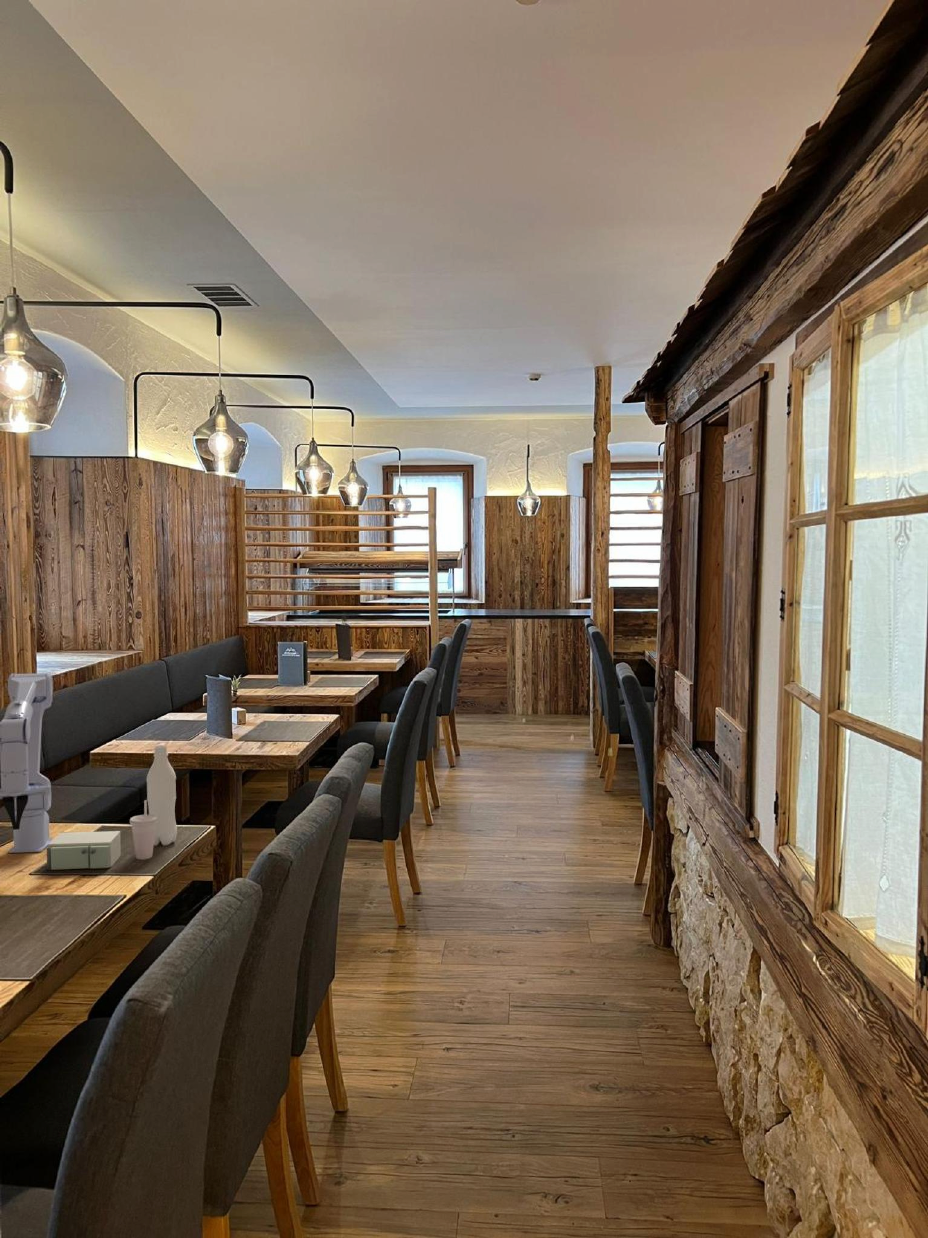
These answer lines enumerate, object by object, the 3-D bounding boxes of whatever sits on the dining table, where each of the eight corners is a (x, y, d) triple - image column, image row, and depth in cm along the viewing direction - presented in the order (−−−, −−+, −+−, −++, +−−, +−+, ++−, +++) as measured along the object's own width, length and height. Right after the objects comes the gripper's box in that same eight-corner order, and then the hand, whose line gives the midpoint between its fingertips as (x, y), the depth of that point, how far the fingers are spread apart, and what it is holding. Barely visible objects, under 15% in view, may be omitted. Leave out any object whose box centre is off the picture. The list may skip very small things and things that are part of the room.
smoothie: (149, 862, 216) (148, 804, 215) (124, 860, 217) (123, 803, 217) (163, 853, 222) (162, 797, 222) (139, 852, 224) (138, 796, 223)
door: (48, 868, 210) (47, 847, 210) (89, 866, 212) (89, 845, 211) (45, 871, 208) (44, 850, 208) (87, 869, 210) (86, 848, 209)
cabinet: (61, 857, 220) (60, 832, 219) (120, 855, 221) (120, 831, 221) (45, 873, 208) (44, 847, 208) (108, 870, 210) (107, 845, 210)
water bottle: (183, 841, 232) (181, 745, 231) (160, 849, 226) (158, 750, 225) (164, 837, 236) (162, 742, 235) (141, 844, 230) (139, 747, 229)
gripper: (-22, 777, 202) (-20, 837, 202) (49, 771, 208) (51, 829, 209) (-21, 770, 208) (-19, 829, 209) (48, 765, 214) (49, 821, 215)
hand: (16, 828), depth 209 cm, fingers closed
